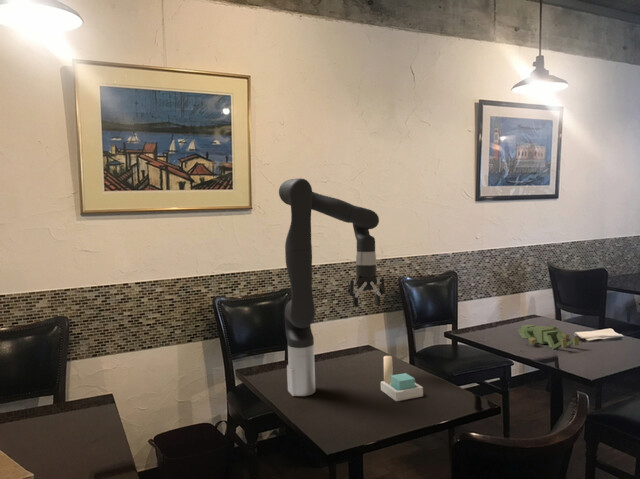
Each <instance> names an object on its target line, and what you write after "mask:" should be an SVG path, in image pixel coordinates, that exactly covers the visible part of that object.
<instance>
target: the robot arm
mask: <svg viewBox="0 0 640 479" xmlns="http://www.w3.org/2000/svg"><path fill="white" fill-rule="evenodd" d="M278 196H279V198H280V199H281V201H282V202H283V203H284V204H285V205H288V206H290V214H291V215H290V216H291V218H290V224H289V229H288V232H287V236H286V239H285V245H284V248H285V250H284V251H285V266H286V270H287V274H288V280H289V283H290V290H291V299H290V300H289V301H288V302H287V303H286V305H285V308H284V325H285V336H286V340H287V359H288V360H287V361H288V364H286V377H287V378H286V379H287V391H288V393H289V394H290V395H291V396H292V397H307V396H310V395H313V394H314V393H315V392H316V373H315V372H316V371H315V368H316V366H315V342H314V340H315V339H314V335H313V332H312V328H311V325H312V324H313V322H314V319H315V316H316V309H315V301H314V294H313V247H312V246H313V245H312V211H315V212H317V213H318V212H319V213H320V214H323V215H326V216H329V217H331V218H333V219H335V220H339V221H341V222H344V223H348V224H352V227H353V232H354V236H355V240H356V256H355V264H356V265H355V269H356V273H355V275H356V276H355V277H356V278H355V279H349V280H348V282H347V283H348V284H347V295H348V296H350V297H352V306H354V308H359V295H360V294H362V292H364V291H365V292H366V291H372V292H373V293H374V306H375V307H380V304H381V296H382V295H385V294H386V288H385V279H384V278H382V277H379V278H377V255H376V254H377V253H376V239H375V237H374V236H373V235H371V234H370V230H373V229H375V228H376V227H377V226H378V225H379V222H380V218H379V215H378V214H377V212H376V211H374V210H372V209H369V208H366V207H362V206H357V205H355V204H352V203H350V202H347V201H344V200H342V199H340V198H335V197H332V196H329V195H324V194H320V193H318V192H315V191H313V188H312V185H311V184H310V182H309V181H308V180H307V179H305V178H302V177H300V178H291V179H287V180H284V182H282V183H281V184H280V187H279V188H278ZM376 284H378V288H377V286H376ZM355 285H357V286H356V287H355ZM354 287H355V289H354Z"/></svg>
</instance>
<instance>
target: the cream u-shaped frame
mask: <svg viewBox="0 0 640 479" xmlns="http://www.w3.org/2000/svg"><path fill="white" fill-rule="evenodd" d="M380 391H381V392H383V393H385V395H387V396H388V397H389V398H391V399H393V401H395V402H400V401H406V400H410V399H416V398H420V397H424V387H423V386H421V385H420V384H418V383H416V382H415V388H409V389H404V390H399V391H397V390H396V389H394V388H393V387H391V386H390V385H388V384H387V383H386V382H384V380H383V381H380Z"/></svg>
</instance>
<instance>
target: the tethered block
mask: <svg viewBox="0 0 640 479" xmlns="http://www.w3.org/2000/svg"><path fill="white" fill-rule="evenodd" d="M393 371H394V370H393V356H392V355H384V356H383V381H384V382H386V383H387V384H388V385H390V386H391V387H393V388H394V389H396V390H397V391H399V390H404V389H409V388H415V383H416V379H415V377H413V376H411V374H410V375H409V374H408V373H407V372H404V373H399V374H394V373H393Z"/></svg>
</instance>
